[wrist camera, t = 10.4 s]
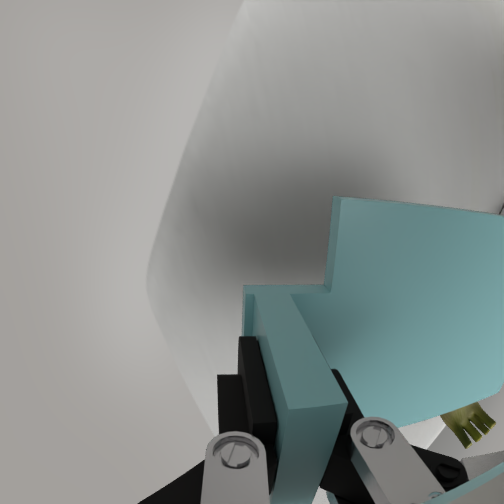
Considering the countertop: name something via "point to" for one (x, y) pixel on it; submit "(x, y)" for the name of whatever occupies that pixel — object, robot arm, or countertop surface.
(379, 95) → the countertop surface
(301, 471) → the lid
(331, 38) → the countertop surface
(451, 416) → the fennel bulb
